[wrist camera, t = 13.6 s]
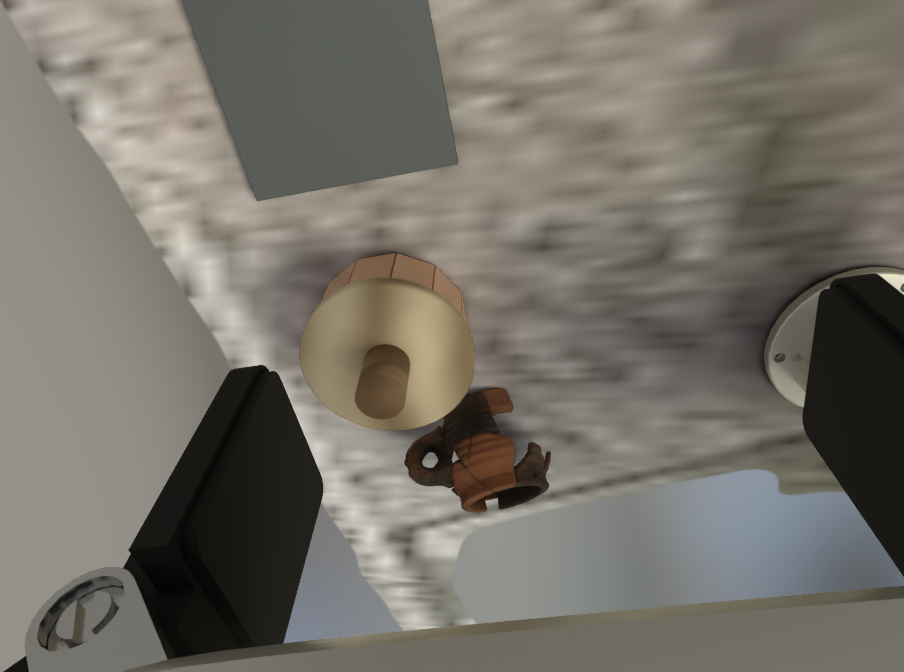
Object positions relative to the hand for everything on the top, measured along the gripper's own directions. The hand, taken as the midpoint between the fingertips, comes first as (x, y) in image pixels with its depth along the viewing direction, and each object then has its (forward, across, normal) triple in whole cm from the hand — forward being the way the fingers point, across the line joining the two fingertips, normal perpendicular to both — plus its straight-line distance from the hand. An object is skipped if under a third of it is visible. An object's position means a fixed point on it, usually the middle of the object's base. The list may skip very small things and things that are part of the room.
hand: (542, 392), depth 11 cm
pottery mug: (+33, +6, +28) cm, 44 cm away
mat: (+32, +10, -2) cm, 34 cm away
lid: (+27, +10, +16) cm, 33 cm away
